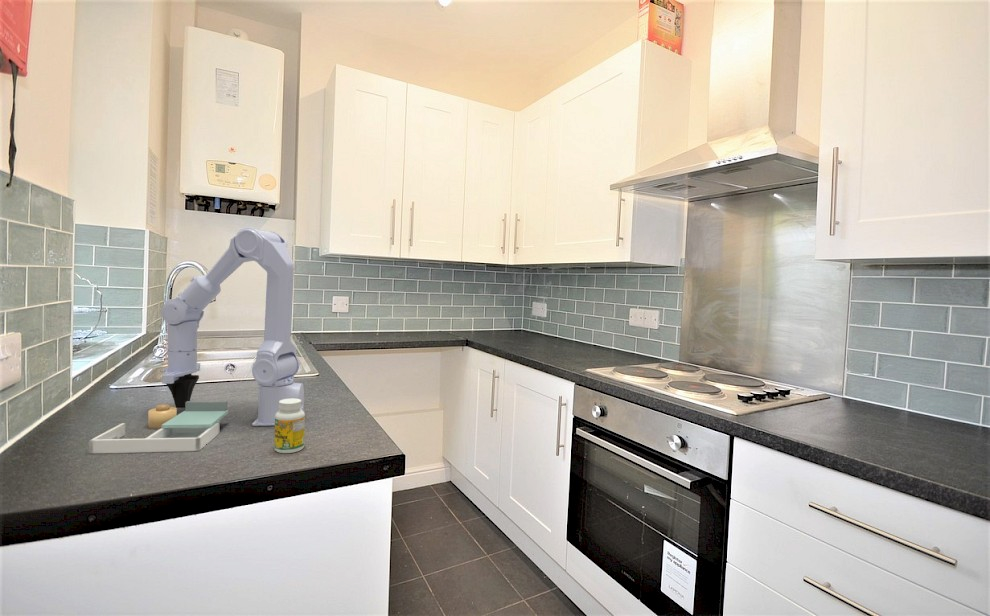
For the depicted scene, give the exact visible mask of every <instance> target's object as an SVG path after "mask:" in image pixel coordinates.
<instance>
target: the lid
mask: <svg viewBox="0 0 990 616" xmlns="http://www.w3.org/2000/svg"><path fill="white" fill-rule="evenodd" d="M184 409H185V410H183V411H182V412H180V413H177V416H175V417H174V418H172V419H170V420H169V421H167V422H166V423H164V424H162V428H195V427H212V426H213V425H214V424H215V423H217V422H220V420H222V419H223V418H224V417H226V416H227V415H228V414H229V413H230V410H229V409H228V400H199V401H198V400H190V401H187V402H185V408H184Z"/></svg>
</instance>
